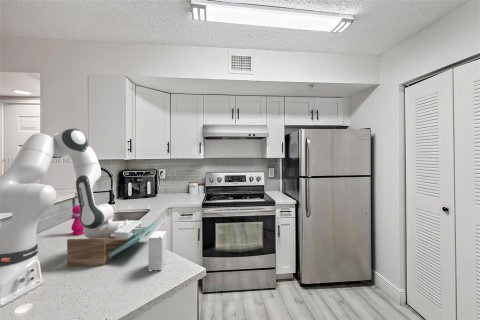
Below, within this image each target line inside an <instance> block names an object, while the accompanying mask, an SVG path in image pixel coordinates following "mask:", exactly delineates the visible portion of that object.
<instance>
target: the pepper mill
mask: <svg viewBox="0 0 480 320" xmlns="http://www.w3.org/2000/svg"><path fill="white" fill-rule="evenodd" d="M72 213H73V219H74V220H73V223H72V225H71V231H72V232H71V233H72V236H73V237H74V236H77V237H78V236H81V235H84V233H83V228H84V226H82V224H81V223H80V220H79V216H80V206H79V202H77V203H76V205H75V206H74V207H72Z"/></svg>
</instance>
